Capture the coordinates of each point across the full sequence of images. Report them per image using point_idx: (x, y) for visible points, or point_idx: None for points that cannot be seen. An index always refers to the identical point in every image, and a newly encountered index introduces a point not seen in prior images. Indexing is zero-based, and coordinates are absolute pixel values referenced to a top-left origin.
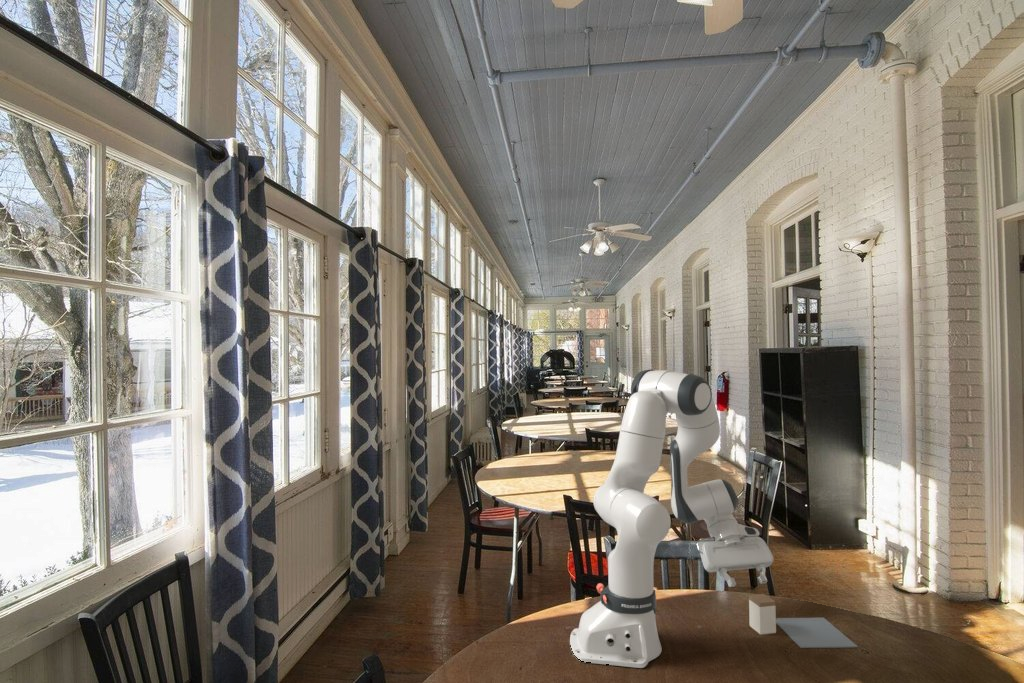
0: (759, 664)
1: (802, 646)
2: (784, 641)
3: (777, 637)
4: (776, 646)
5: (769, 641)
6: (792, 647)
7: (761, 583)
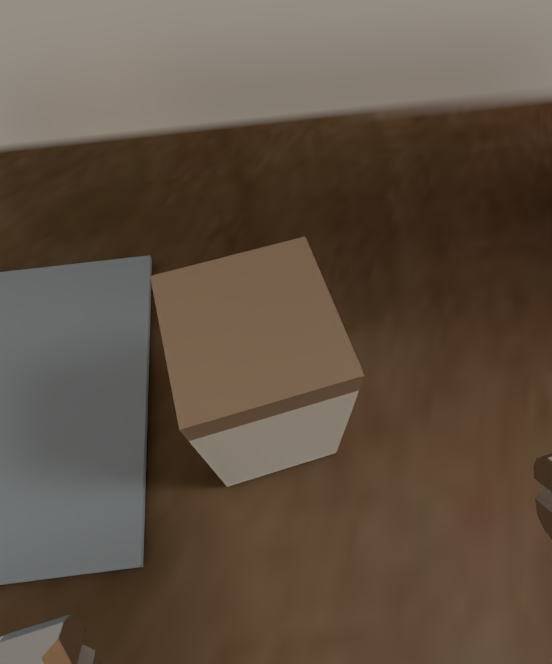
0: (375, 154)
1: (139, 258)
2: None
3: None
4: None
5: None
6: None
7: (91, 661)
